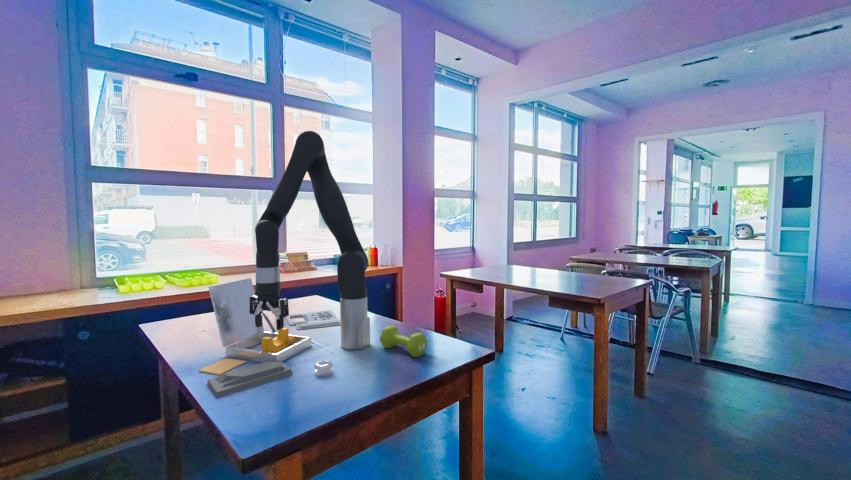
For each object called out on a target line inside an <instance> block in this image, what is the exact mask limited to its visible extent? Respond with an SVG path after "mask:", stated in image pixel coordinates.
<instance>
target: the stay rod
mask: <svg viewBox="0 0 851 480" xmlns="http://www.w3.org/2000/svg"><path fill="white" fill-rule="evenodd" d="M261 315H262V317H263V318H264V320H265V321H266V322H267V324H268V326H269V328H270V329H271V332H276V330H277V329H276V328H275V327H274V326H273V323H272V322H271V320H270V319H269V317H268V315H267V313H266V311H263V312H262V314H261Z"/></svg>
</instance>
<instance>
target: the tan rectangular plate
mask: <svg viewBox="0 0 851 480" xmlns="http://www.w3.org/2000/svg"><path fill="white" fill-rule="evenodd" d="M246 363H247V360H243V359H237V358H231V357H225V358H222V359H221V360H219V361H217V362H214V363H212V364H210V365H206V366H205V367H203V368H201V369H199V370H198V372H200V373H201V372H202V373H205V374H211V375H217V376H220V375H222V374H224V373H227V372H231V371H233V370H235V369H236V368H238V367H240V366H242V365H244V364H246Z"/></svg>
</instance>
